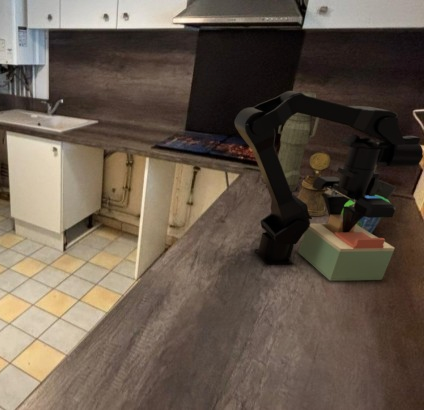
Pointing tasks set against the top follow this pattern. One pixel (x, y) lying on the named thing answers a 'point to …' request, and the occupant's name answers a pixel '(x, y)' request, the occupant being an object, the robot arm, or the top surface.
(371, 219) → the snack cup
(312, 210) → the wooden mug
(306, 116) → the thermos
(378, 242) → the slider
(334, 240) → the lid
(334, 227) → the block
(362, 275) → the green box
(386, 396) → the top surface
